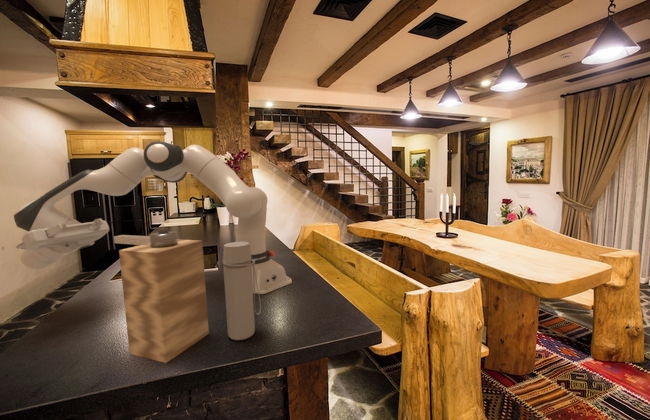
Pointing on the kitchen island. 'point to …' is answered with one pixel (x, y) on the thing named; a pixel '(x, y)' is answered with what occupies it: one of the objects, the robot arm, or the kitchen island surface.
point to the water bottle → (239, 290)
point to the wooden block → (164, 298)
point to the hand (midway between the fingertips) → (82, 223)
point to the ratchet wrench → (150, 239)
